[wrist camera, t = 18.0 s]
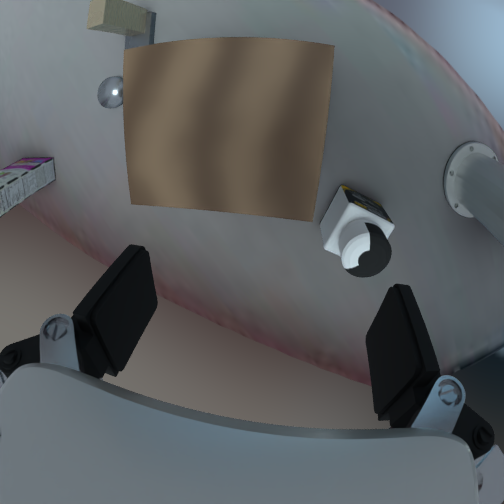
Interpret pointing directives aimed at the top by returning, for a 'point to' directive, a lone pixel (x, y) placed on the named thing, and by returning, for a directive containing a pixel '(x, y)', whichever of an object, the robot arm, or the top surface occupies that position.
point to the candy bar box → (24, 180)
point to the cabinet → (227, 124)
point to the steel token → (111, 92)
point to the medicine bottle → (357, 232)
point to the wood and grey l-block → (123, 21)
